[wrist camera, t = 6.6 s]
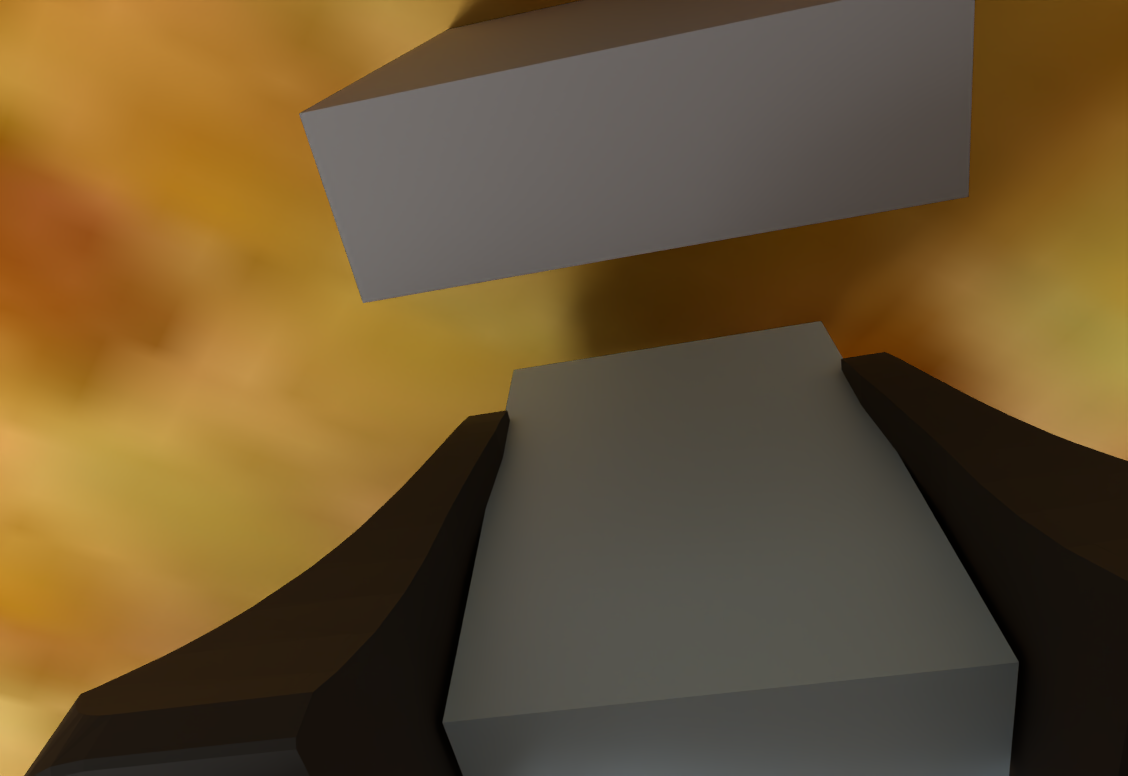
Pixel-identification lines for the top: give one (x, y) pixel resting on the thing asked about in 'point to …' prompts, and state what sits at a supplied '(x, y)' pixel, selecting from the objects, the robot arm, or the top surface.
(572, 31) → the grey rectangular block
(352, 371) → the top surface
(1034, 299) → the top surface
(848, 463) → the domino
